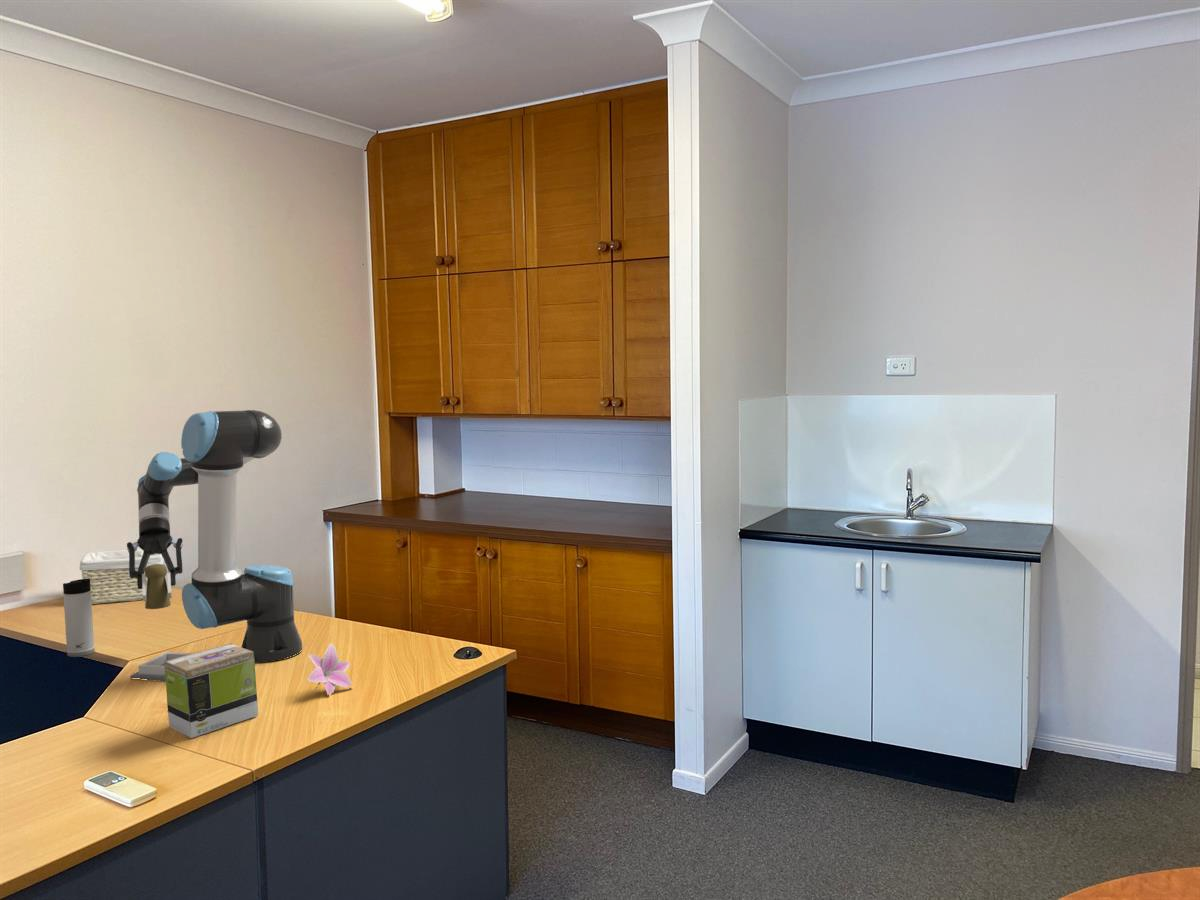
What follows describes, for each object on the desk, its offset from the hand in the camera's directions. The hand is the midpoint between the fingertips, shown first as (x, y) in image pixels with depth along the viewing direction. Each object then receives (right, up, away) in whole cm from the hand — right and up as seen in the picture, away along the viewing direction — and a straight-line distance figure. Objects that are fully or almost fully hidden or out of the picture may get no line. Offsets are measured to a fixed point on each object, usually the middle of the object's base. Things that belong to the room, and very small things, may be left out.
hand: (157, 596), depth 229 cm
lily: (+51, -19, -22) cm, 59 cm away
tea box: (+32, -20, -40) cm, 55 cm away
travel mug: (-23, -16, +6) cm, 29 cm away
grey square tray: (+8, -17, -9) cm, 21 cm away
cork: (-2, -3, +4) cm, 5 cm away
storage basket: (-42, -11, +63) cm, 76 cm away
